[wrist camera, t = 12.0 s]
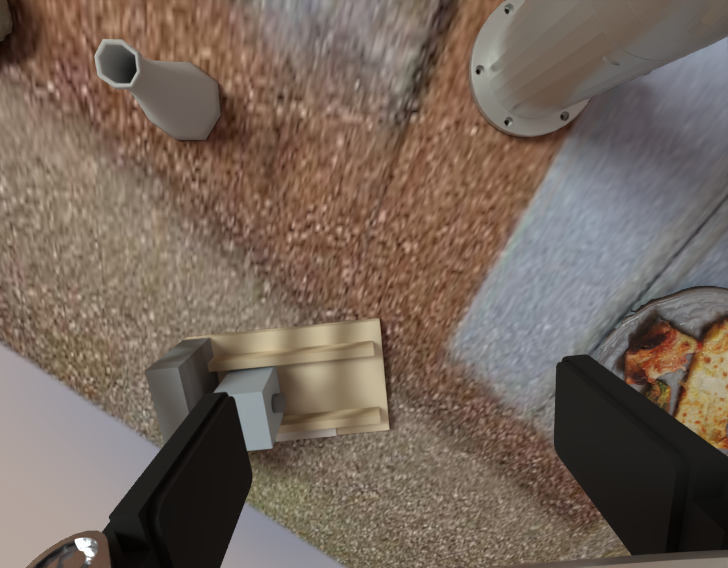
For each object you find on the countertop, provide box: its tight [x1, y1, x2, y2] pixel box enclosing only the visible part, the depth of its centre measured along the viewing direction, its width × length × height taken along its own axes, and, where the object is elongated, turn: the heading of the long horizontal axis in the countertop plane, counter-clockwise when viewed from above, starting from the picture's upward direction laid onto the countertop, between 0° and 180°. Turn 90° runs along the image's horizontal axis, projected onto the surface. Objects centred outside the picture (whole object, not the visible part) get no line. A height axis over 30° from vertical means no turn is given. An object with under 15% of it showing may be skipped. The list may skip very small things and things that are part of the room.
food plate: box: [597, 286, 728, 456], centre depth 41 cm, size 25×23×4 cm
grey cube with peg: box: [214, 365, 287, 451], centre depth 38 cm, size 6×10×6 cm, turn 5°
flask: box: [95, 39, 221, 140], centre depth 29 cm, size 7×7×10 cm
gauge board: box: [145, 318, 389, 444], centre depth 37 cm, size 22×14×8 cm, turn 95°
